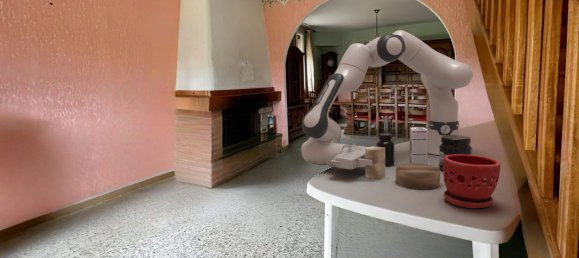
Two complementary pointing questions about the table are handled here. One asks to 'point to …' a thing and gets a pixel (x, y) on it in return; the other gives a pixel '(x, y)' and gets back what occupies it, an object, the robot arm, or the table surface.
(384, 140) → the supplement bottle
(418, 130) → the syrup box
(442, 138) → the supplement container
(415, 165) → the walnut plinth
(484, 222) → the table surface
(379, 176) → the ash block
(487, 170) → the plant pot
